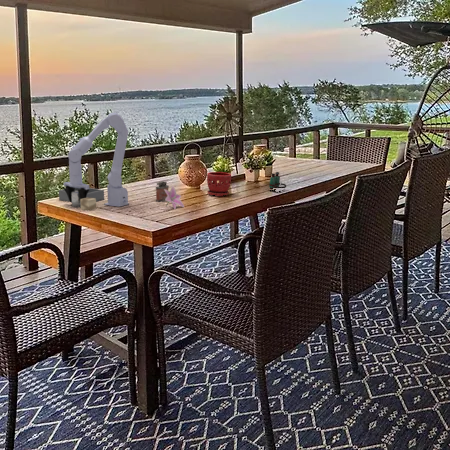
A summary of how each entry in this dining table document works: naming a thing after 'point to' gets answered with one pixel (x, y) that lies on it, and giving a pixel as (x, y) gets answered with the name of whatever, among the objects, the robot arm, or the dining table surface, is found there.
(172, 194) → the lily
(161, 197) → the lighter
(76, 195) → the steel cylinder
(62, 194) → the tote
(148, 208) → the dining table surface
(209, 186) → the plant pot
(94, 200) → the maple cube
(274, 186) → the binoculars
